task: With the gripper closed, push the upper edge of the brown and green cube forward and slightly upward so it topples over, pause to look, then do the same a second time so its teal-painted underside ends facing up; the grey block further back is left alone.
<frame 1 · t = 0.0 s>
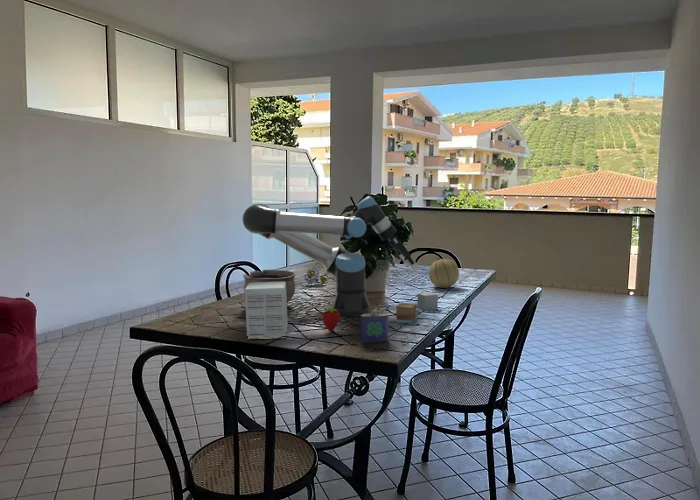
hand: (413, 267, 221), 15 cm above the table, tool tilted 35°, fingers open, 13 cm apart
strawberry: (331, 332, 178), on the table
flask: (374, 342, 165), on the table
cantaloupe: (443, 288, 254), on the table
passion flower: (315, 285, 270), on the table
brown and green cube: (406, 320, 192), on the table
supplement box: (268, 335, 177), on the table
ceramic bowl: (271, 308, 218), on the table
grey block: (427, 308, 212), on the table
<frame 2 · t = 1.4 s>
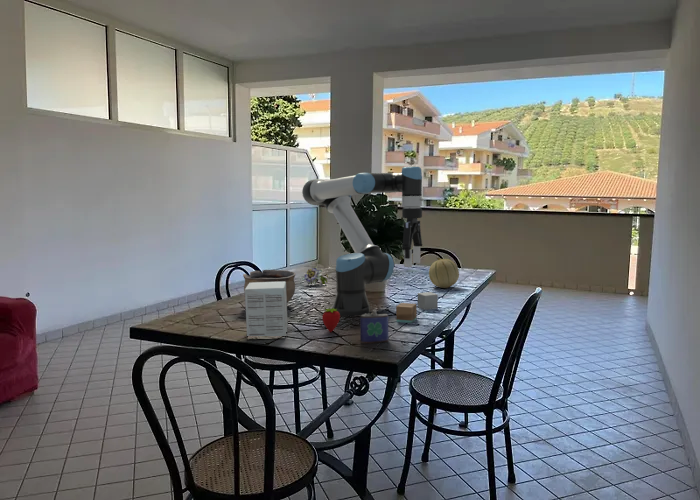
hand: (412, 264, 197), 20 cm above the table, tool pointing down, fingers open, 11 cm apart
nothing on the table moved.
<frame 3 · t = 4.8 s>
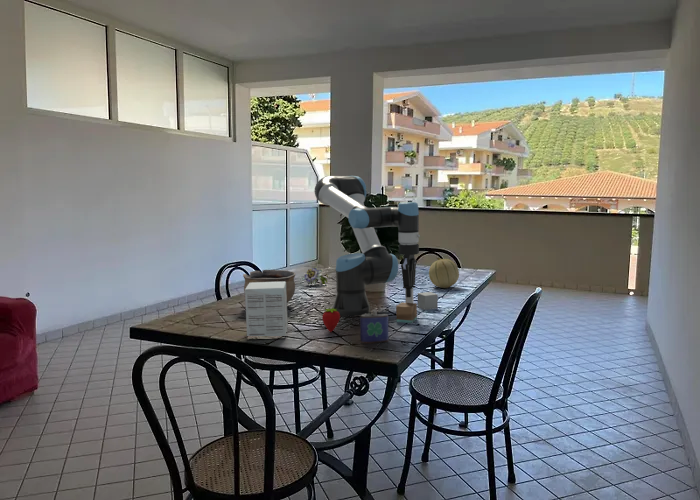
hand: (409, 305, 194), 5 cm above the table, tool pointing down, fingers closed
brown and green cube: (406, 320, 192), on the table, touching gripper
everything else where it was.
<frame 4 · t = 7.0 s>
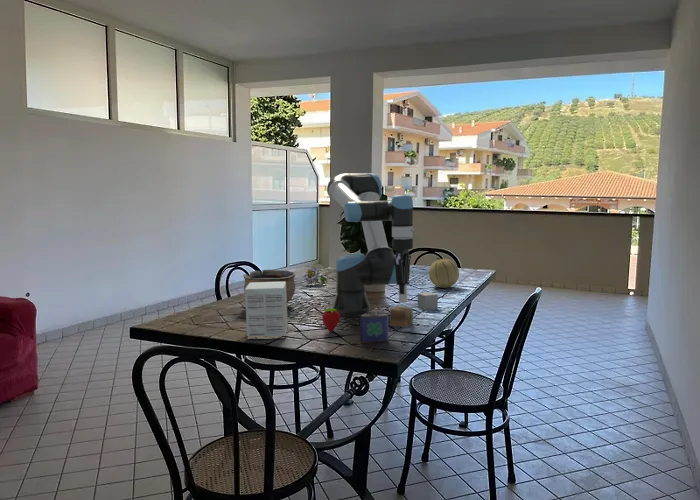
hand: (403, 301, 187), 8 cm above the table, tool pointing down, fingers closed
brown and green cube: (405, 314, 189), point 3 cm above the table, tilted 90°
everything else where it was.
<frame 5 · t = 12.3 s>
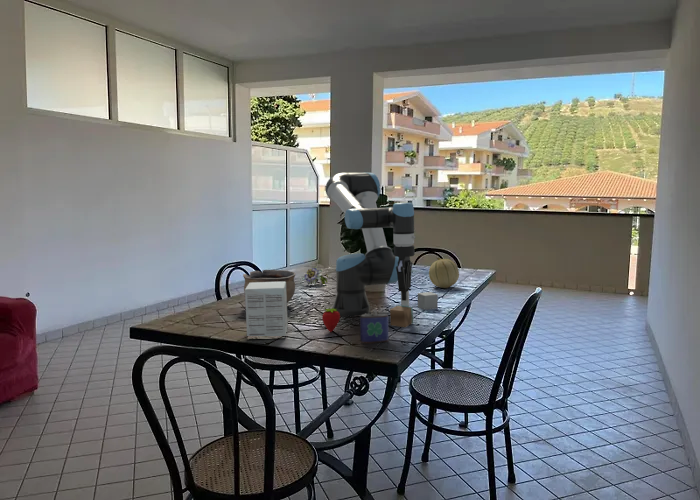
hand: (405, 308, 189), 5 cm above the table, tool pointing down, fingers closed
brown and green cube: (405, 313, 188), point 3 cm above the table, tilted 94°, touching gripper
everything else where it was.
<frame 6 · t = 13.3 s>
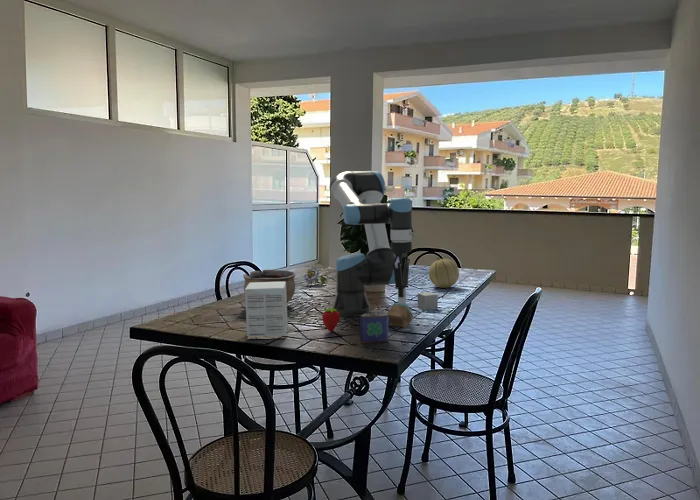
hand: (402, 305, 186), 7 cm above the table, tool pointing down, fingers closed
brown and green cube: (403, 309, 186), point 5 cm above the table, tilted 123°, touching gripper
everything else where it was.
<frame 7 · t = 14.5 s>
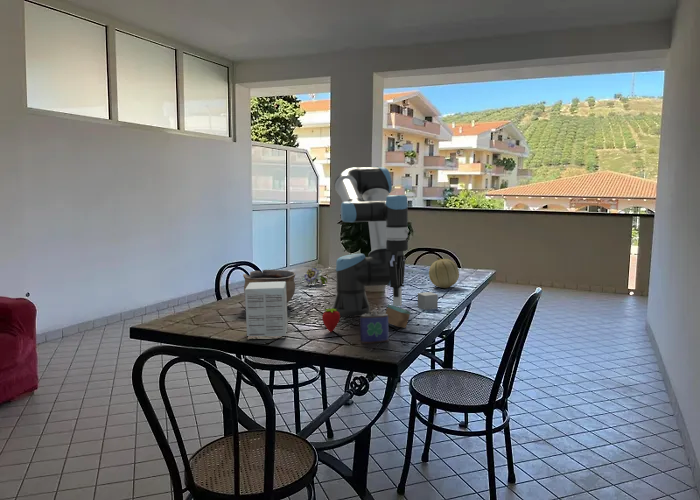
hand: (397, 305, 182), 8 cm above the table, tool pointing down, fingers closed
brown and green cube: (399, 308, 182), point 7 cm above the table, tilted 159°, touching gripper
everything else where it was.
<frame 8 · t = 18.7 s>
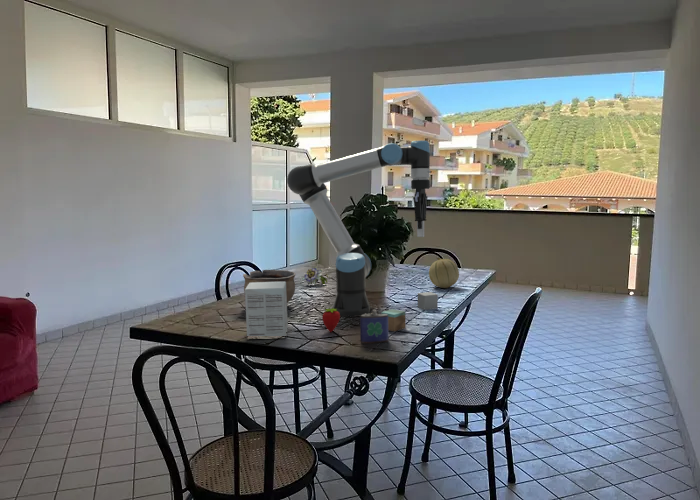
hand: (420, 236, 211), 29 cm above the table, tool pointing down, fingers closed
brown and green cube: (393, 311, 181), point 6 cm above the table, tilted 180°
everything else where it was.
at the end: brown and green cube tilted 180°; brown and green cube inside the target area (1.6 cm from its centre), point 5.9 cm above the table; grey block moved 0.1 cm from its start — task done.
